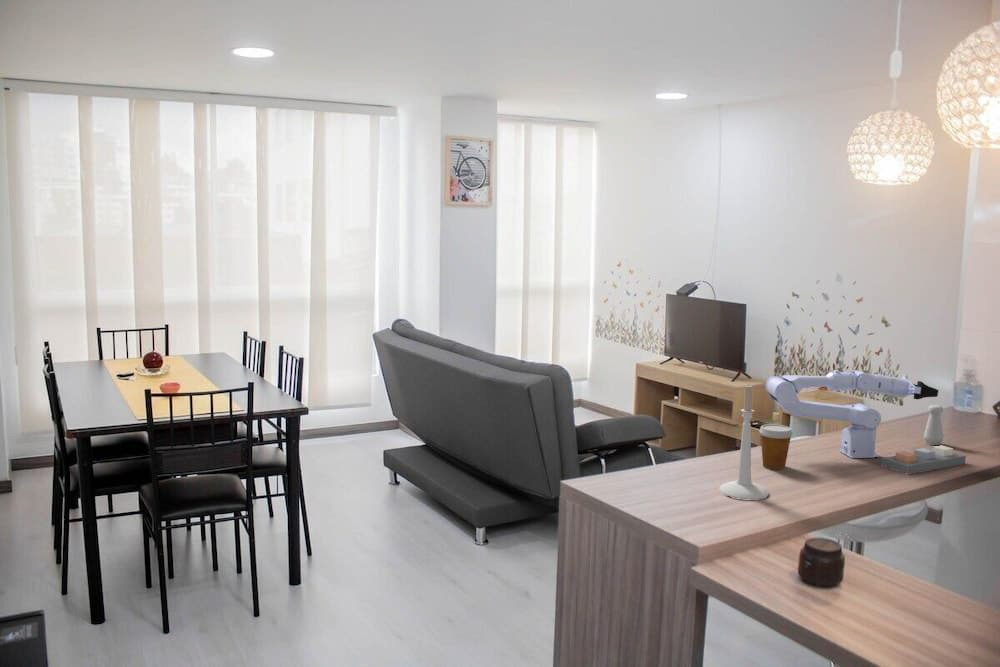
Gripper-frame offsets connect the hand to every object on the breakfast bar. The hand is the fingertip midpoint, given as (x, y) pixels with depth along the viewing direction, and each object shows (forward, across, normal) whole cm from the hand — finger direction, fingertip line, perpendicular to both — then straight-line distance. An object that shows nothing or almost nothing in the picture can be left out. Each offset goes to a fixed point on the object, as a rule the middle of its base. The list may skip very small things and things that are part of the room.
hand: (930, 392), depth 260 cm
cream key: (+3, -6, +18) cm, 20 cm away
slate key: (-4, -9, +20) cm, 22 cm away
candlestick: (-65, -31, +35) cm, 80 cm away
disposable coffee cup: (-49, -9, +30) cm, 58 cm away
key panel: (-3, -9, +22) cm, 24 cm away
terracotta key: (-11, -12, +22) cm, 27 cm away
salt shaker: (+12, +14, +17) cm, 25 cm away
